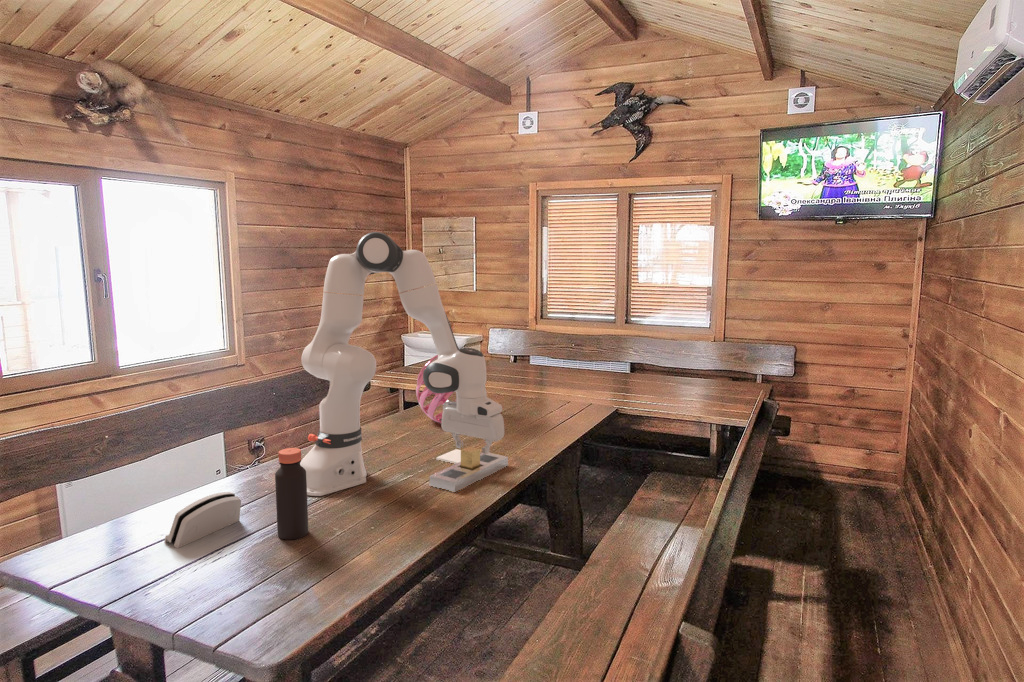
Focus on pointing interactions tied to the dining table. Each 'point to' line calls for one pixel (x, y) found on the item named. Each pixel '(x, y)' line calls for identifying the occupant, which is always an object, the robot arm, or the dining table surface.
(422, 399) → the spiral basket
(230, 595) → the dining table surface
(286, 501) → the bottle
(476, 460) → the block
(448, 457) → the pad
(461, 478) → the rail
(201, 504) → the napkin holder
